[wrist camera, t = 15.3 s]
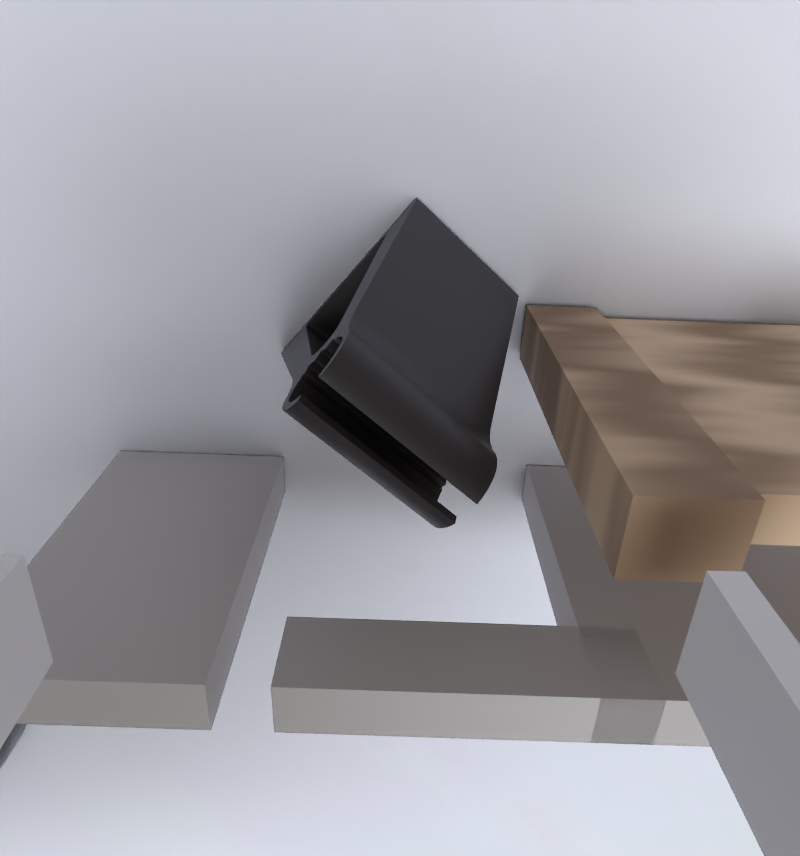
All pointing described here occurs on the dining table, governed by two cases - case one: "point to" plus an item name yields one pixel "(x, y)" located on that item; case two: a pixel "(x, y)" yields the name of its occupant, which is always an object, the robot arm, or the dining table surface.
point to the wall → (352, 623)
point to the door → (672, 434)
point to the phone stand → (408, 365)
